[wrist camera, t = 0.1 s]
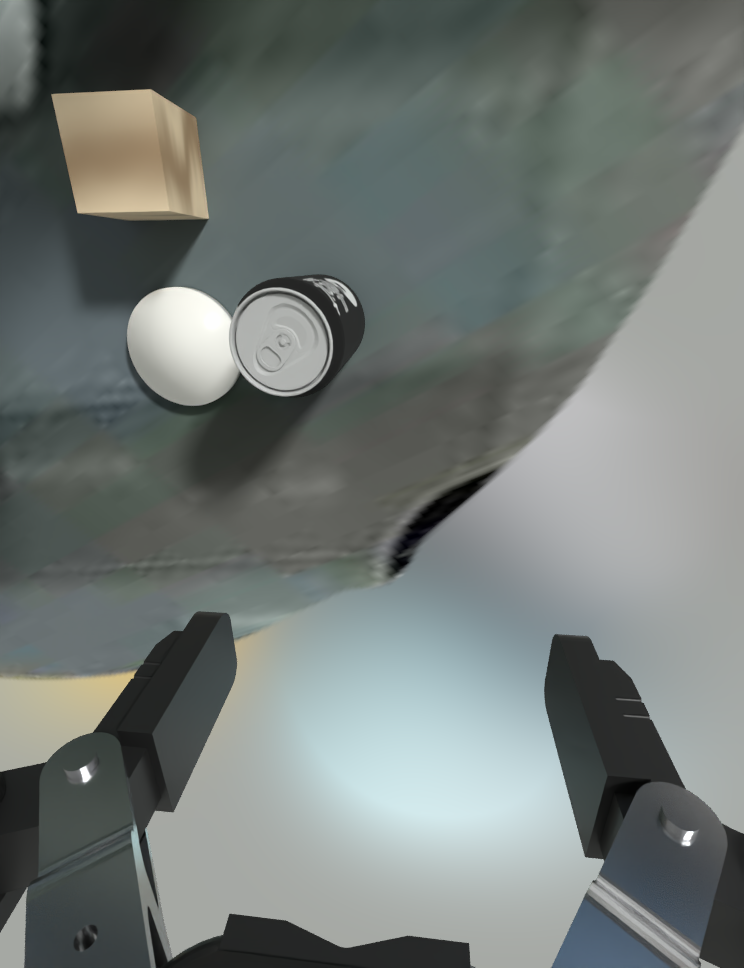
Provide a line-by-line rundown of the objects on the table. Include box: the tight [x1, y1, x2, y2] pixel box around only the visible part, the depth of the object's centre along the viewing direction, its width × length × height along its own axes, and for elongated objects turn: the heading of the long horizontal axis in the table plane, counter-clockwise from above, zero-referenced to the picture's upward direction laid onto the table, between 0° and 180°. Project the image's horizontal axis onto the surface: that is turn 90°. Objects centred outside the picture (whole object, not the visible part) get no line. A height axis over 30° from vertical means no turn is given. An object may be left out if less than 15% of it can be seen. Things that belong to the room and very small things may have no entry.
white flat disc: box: [127, 287, 241, 406], centre depth 39 cm, size 9×9×1 cm
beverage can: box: [229, 275, 365, 397], centre depth 32 cm, size 7×7×12 cm
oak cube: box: [51, 89, 209, 221], centre depth 32 cm, size 6×6×6 cm
